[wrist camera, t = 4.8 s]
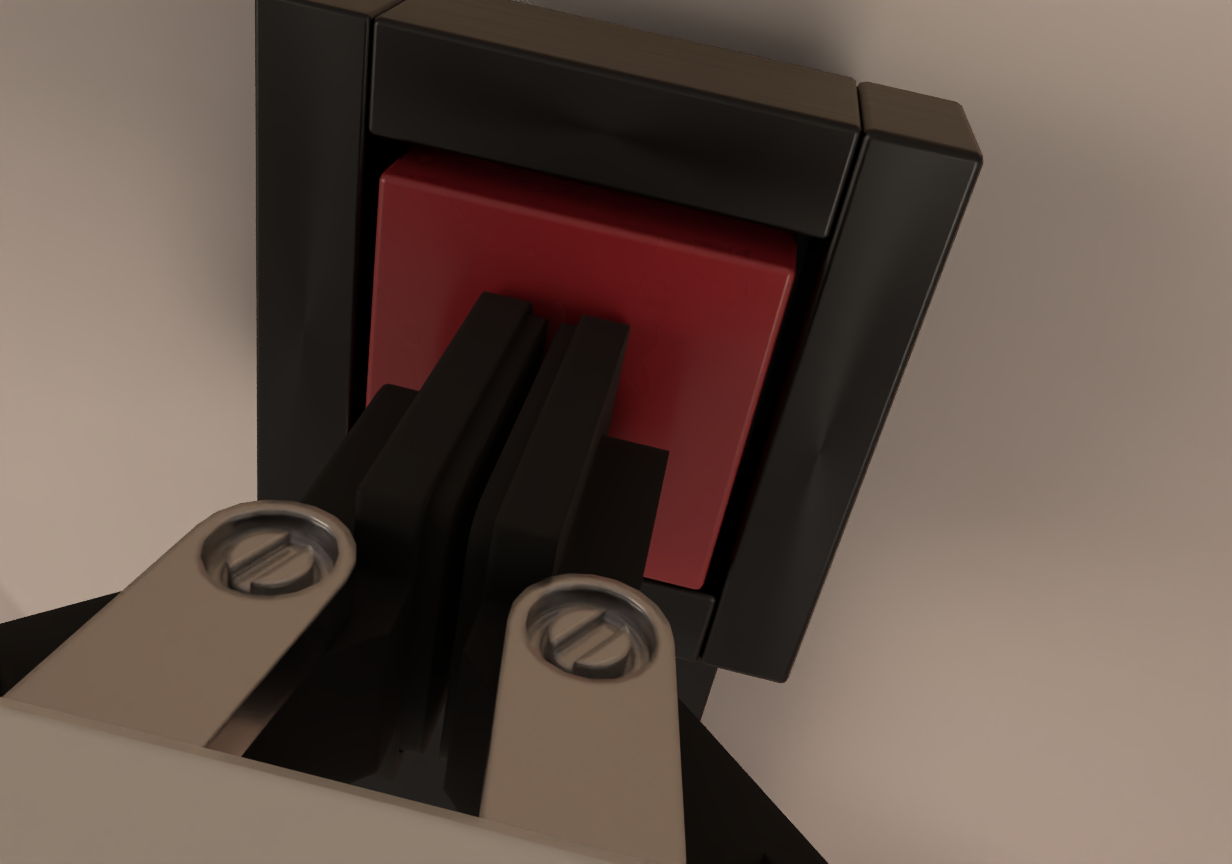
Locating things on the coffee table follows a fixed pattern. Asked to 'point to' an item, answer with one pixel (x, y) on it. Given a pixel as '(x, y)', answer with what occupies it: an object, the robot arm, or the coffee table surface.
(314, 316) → the button housing
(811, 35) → the coffee table surface
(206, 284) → the coffee table surface
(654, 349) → the red square push button
